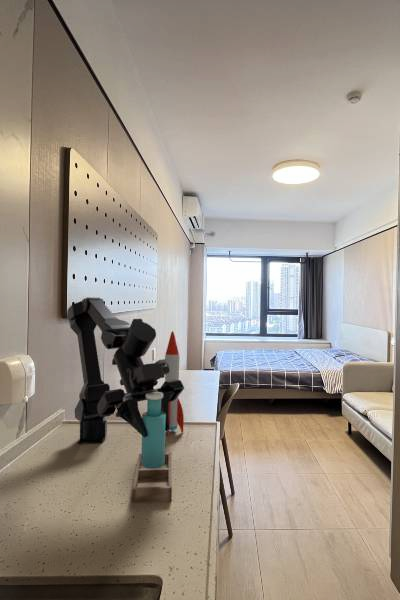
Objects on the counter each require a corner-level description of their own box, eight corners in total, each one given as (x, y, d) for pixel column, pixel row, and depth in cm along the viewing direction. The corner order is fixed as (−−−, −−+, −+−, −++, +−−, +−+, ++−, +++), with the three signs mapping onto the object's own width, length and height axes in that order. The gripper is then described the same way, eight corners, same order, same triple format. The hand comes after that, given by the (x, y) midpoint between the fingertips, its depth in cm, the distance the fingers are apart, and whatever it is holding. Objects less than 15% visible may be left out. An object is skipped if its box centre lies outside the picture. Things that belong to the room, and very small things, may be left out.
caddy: (132, 502, 66) (132, 489, 66) (138, 464, 81) (139, 453, 81) (171, 501, 66) (171, 487, 66) (170, 463, 82) (171, 452, 82)
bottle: (144, 470, 67) (145, 398, 67) (138, 459, 71) (140, 392, 71) (167, 466, 69) (169, 396, 69) (161, 456, 73) (162, 390, 73)
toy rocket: (183, 433, 100) (186, 331, 100) (167, 436, 97) (169, 332, 97) (174, 427, 105) (177, 330, 105) (158, 430, 102) (160, 330, 102)
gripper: (103, 351, 67) (129, 423, 59) (180, 344, 79) (210, 403, 70) (88, 382, 73) (109, 452, 65) (161, 372, 85) (187, 429, 77)
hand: (157, 433), depth 69 cm, fingers closed on bottle, 5 cm apart
